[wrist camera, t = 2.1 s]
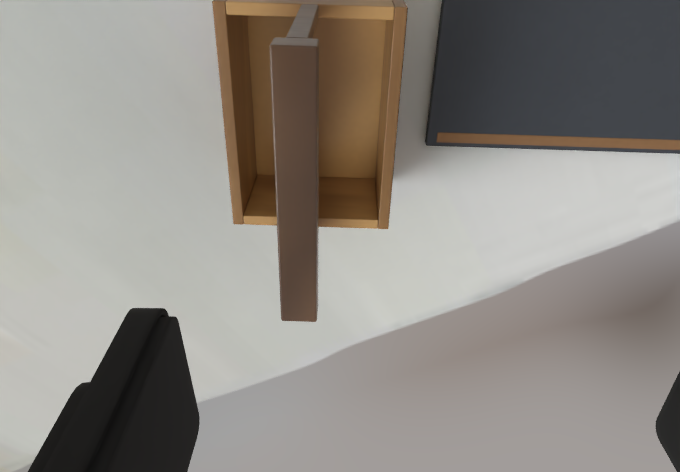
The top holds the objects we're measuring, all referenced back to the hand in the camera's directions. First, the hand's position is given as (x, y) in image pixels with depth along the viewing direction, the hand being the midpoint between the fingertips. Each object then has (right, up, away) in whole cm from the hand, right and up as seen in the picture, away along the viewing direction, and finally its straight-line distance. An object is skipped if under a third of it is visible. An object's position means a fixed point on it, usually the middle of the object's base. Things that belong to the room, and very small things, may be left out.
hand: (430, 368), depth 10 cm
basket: (-3, +11, +23) cm, 26 cm away
